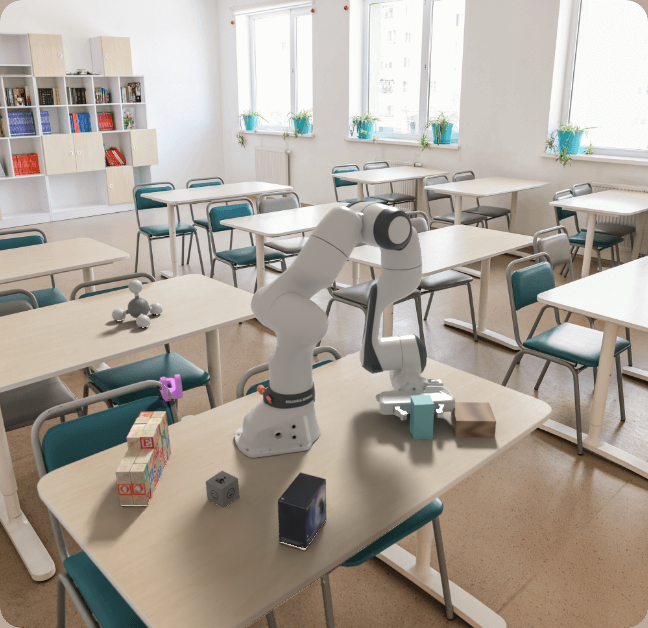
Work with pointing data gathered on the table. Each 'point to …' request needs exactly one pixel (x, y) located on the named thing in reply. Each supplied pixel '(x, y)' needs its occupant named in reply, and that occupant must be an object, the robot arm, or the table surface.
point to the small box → (302, 510)
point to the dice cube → (222, 489)
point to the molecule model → (138, 307)
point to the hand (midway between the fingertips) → (422, 416)
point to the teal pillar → (421, 417)
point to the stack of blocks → (143, 458)
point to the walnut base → (473, 420)
